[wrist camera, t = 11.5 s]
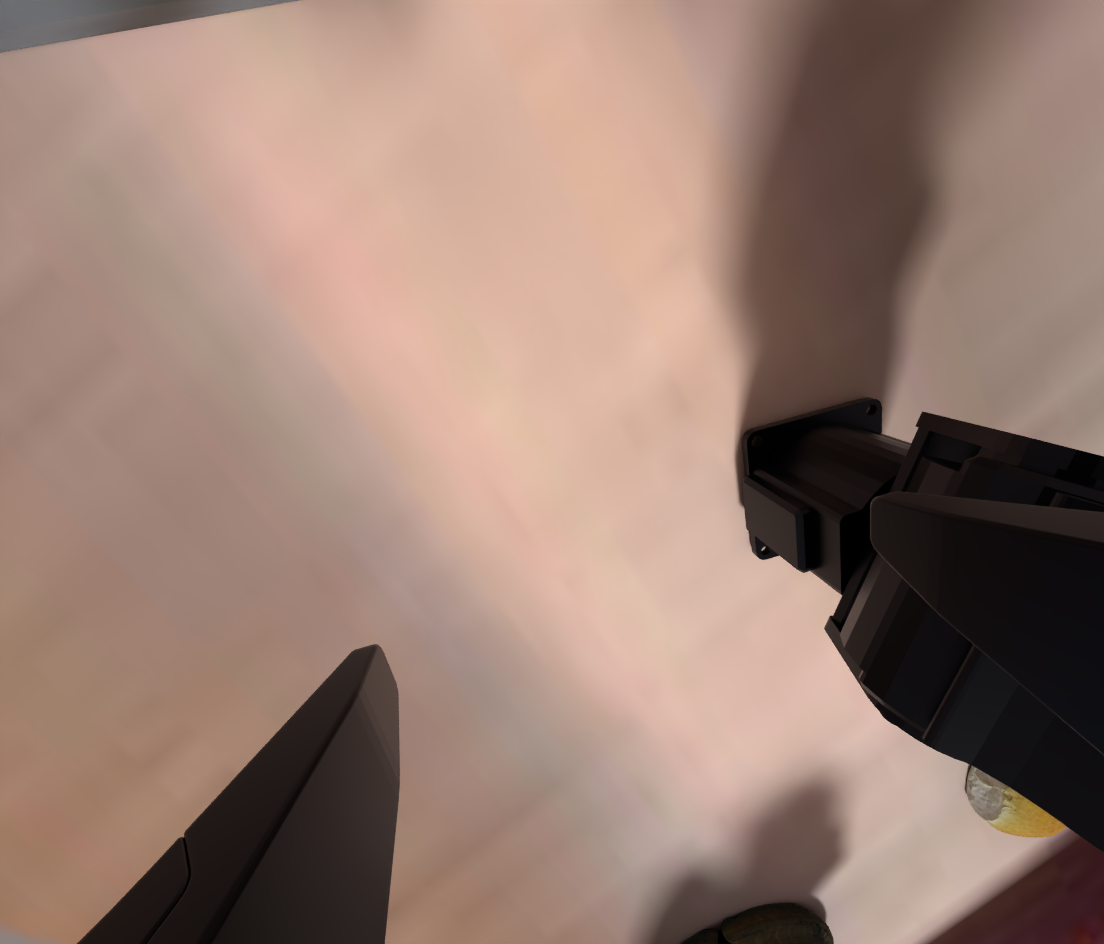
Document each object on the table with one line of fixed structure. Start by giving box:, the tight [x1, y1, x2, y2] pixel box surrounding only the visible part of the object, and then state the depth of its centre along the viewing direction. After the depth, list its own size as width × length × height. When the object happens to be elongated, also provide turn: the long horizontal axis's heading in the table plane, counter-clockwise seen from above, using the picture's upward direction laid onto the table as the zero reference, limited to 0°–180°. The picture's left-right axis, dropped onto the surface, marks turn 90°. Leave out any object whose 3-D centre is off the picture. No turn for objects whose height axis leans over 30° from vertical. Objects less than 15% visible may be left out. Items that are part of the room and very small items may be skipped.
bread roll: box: [967, 766, 1067, 837], centre depth 33 cm, size 8×9×4 cm
